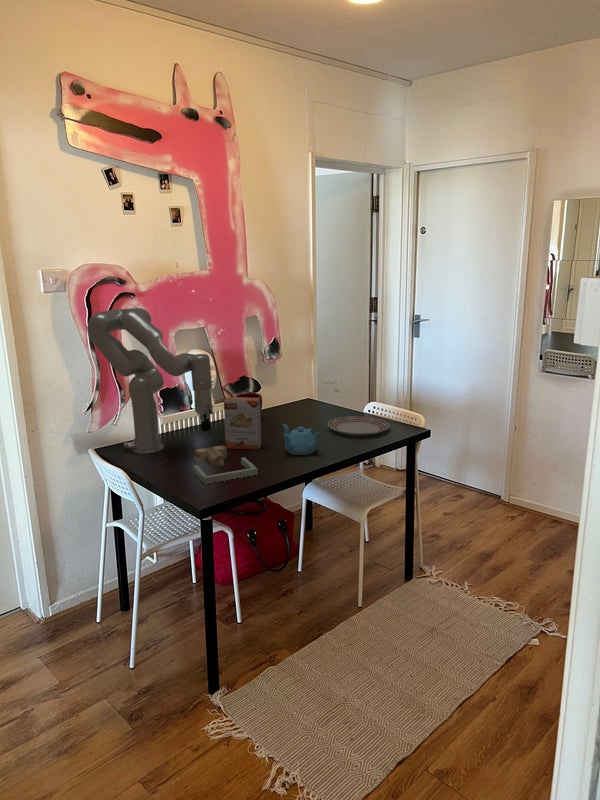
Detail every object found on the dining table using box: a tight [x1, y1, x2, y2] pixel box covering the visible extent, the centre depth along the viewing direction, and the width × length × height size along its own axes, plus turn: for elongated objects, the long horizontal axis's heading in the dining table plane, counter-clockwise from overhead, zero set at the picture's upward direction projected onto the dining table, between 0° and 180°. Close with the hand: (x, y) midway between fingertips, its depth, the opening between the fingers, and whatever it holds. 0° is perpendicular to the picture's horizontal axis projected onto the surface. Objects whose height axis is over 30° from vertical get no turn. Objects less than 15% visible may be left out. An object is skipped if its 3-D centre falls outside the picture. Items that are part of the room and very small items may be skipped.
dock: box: [193, 456, 259, 485], centre depth 221 cm, size 20×14×2 cm
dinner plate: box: [327, 415, 390, 437], centre depth 270 cm, size 28×27×3 cm
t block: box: [193, 444, 228, 468], centre depth 233 cm, size 12×12×4 cm
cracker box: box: [223, 396, 262, 451], centre depth 247 cm, size 14×6×21 cm, turn 82°
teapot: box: [282, 423, 321, 456], centre depth 242 cm, size 15×15×10 cm
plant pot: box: [234, 392, 263, 418], centre depth 287 cm, size 13×13×12 cm
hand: (206, 430), depth 242 cm, fingers closed
